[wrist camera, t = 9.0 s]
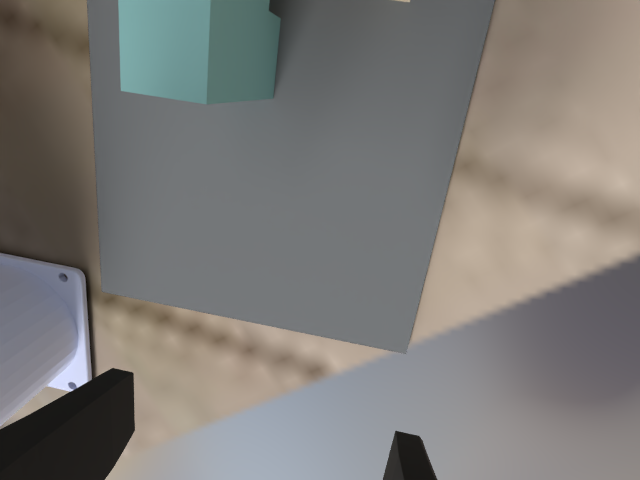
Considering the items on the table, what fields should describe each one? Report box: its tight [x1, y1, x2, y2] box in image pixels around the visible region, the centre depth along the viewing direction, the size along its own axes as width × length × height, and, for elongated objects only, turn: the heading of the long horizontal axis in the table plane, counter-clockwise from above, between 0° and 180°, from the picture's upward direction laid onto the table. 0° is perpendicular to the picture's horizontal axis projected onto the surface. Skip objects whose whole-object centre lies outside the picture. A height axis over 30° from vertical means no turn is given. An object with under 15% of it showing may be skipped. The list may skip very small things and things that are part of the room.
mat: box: [87, 0, 495, 354], centre depth 18 cm, size 16×20×1 cm
